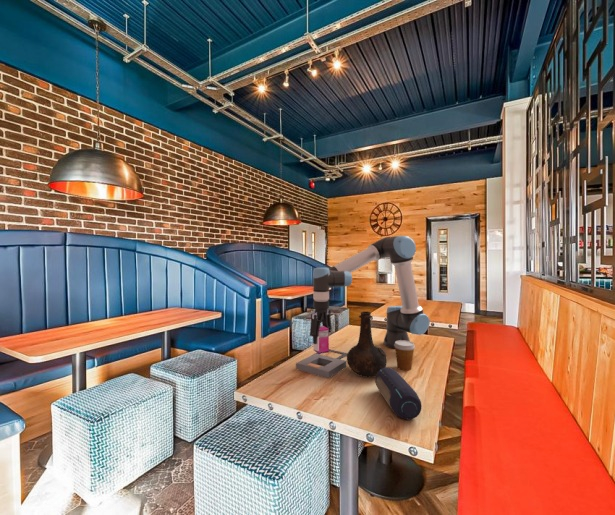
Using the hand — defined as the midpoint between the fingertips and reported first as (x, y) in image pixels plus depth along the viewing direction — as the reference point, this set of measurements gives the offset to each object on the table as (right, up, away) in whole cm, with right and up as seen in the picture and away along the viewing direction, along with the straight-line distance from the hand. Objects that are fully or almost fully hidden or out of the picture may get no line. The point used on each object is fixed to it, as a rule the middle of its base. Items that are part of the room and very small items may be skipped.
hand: (321, 347), depth 142 cm
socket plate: (0, -10, 0) cm, 10 cm away
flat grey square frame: (+5, -9, +18) cm, 21 cm away
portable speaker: (+26, -11, -33) cm, 43 cm away
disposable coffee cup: (+40, -10, 0) cm, 41 cm away
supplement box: (0, -2, 0) cm, 2 cm away
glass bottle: (+20, -10, -6) cm, 24 cm away
